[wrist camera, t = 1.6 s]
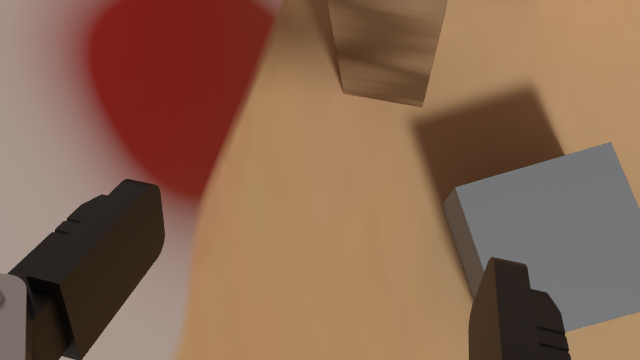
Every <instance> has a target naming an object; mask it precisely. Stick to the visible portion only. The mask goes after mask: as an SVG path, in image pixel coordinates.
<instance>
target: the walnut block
mask: <svg viewBox="0 0 640 360" xmlns="http://www.w3.org/2000/svg"><path fill="white" fill-rule="evenodd" d="M327 2H328V8H329V13H330V19H331V25H332V30H333V36H334V42H335V47H336V53H337V59H338V64H339V70H340V76H341V81H342V87H343V93H344V94H349V95H354V96H360V97H366V98H372V99H377V100H383V101H389V102H395V103H400V104H406V105H412V106H418V107H422V106H423V102H424V98H425V94H426V90H427V86H428V82H429V77H430V73H431V69H432V65H433V61H434V57H435V53H436V49H437V44H438V40H439V36H440V32H441V28H442V24H443V20H444V15H445V11H446V6H447V0H327Z"/></svg>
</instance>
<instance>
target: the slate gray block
mask: <svg viewBox="0 0 640 360" xmlns="http://www.w3.org/2000/svg"><path fill="white" fill-rule="evenodd" d="M442 206H443V209H444V212H445V215H446V218H447V221H448V224H449V227H450V230H451V233H452V236H453V239H454V242H455V245H456V248H457V251H458V254H459V257H460V260H461V263H462V266H463V269H464V272H465V275H466V278H467V280H468V283H469V286H470V289H471V292H472V295H473V298H474V299H475V297H476V294H477V291H478V288H479V285H480V283H481V280H482V277H483V274H484V271H485V269H486V266H487V263H488V261H489V259H490V258H491V257H495V258H500V259H505V260H509V261H514V262H519V263H524V264H526V265H527V268H528V274H529V280H530V287H531V289H534V290H539V291H543V292H547V293H548V294H549V296H550V297H551V299H552V300H553V302H554V303H555V304H556V306H557V307H558V309H559V310H560V312H561V315H562V320H563V325H564V329H565V332H567V331H571V330H575V329H578V328H582V327H586V326H589V325H593V324H597V323H600V322H604V321H608V320H611V319H615V318H618V317H622V316H626V315H629V314H633V313H637V312H640V209H639V207H638V204H637V202H636V200H635V197H634V195H633V193H632V190H631V188H630V186H629V183H628V181H627V179H626V176H625V174H624V172H623V169H622V167H621V165H620V162H619V160H618V158H617V155H616V153H615V151H614V148H613V146H612V144H611V142H609V143H606V144H603V145H599V146H596V147H592V148H589V149H585V150H582V151H578V152H575V153H572V154H568V155H565V156H561V157H558V158H554V159H551V160H547V161H544V162H541V163H537V164H534V165H530V166H527V167H523V168H520V169H516V170H513V171H510V172H506V173H503V174H499V175H496V176H492V177H489V178H485V179H482V180H479V181H475V182H472V183H468V184H465V185H461V186H458V187H455V188H454V189H453V191H452V192H451V193H450V195H449V196H448V197H447V199H446V200H445V201H444V203H443V204H442Z"/></svg>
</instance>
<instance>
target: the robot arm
mask: <svg viewBox="0 0 640 360" xmlns="http://www.w3.org/2000/svg"><path fill="white" fill-rule="evenodd" d="M164 238H165V230H164V221H163V212H162V203H161V194H160V189H159V187H158V186H157V185H154V184H150V183H145V182H140V181H135V180H131V179H126V180H124V181H122V182H121V183H120V184H119V185H118V186H117V187H116V188H115V189H114V190H113V191H112V192H111V193H110V194H109V195H108V196H107V195H100V196H98V197H96V198H94V199H92V200H90V201H88V202H86V203H84V204H82V205H81V206H79V207H78V208H77V209H76V210H75V211H74V212H73V213H72V214H71V215H70V216H69V217H68V218H67V221H63V222H62V223H61V224H60V225H59V226H58V227H57V228H56V229H55V232H54V233H53V232H52V233H51V234H49V236H47V237H46V238H45V239H44V240H43V241H42V242H41V243H40V244H39V245H38V246H37V247H36V248H35V249H34V250H32V251H31V252H30V253H29V254H28V255H27V256H26V257H25V258H24V259H23V260H22V261H21V262H20V263H18V264H17V266H15V267H14V268H13V269H12V270H11V271H10V272H9V273H8V274H0V360H59V359H60V357H61V356H64V357H68V358H71V359H75V360H82V359H83V357H84V356H85V355H86V353H87V352H88V351H89V349H90V348H91V347H92V345H93V344H94V343H95V341H96V340H97V339H98V337H99V336H100V335H101V333H102V332H103V331H104V329H105V328H106V327H107V325H108V324H109V322H110V321H111V320H112V319H113V317H114V316H115V314H116V313H117V312H118V310H119V309H120V308H121V306H122V305H123V304H124V302H125V301H126V300H127V298H128V297H129V296H130V294H131V293H132V292H133V290H134V289H135V288H136V286H137V285H138V284H139V282H140V281H141V279H142V278H143V277H144V276H145V274H146V273H147V271H148V270H149V269H150V267H151V266H152V265H153V263H154V262H155V261H156V259H157V258H158V256H159V255H160V252H161V250H162V248H163V244H164ZM568 351H569V348H568V343H567V338H566V337H565V329H564V325H563V320H562V315H561V312H560V310H559V309H558V307H557V306H556V304H555V303H554V302H553V300H552V299H551V297H550V296H549V294H548V293H547V292H543V291H539V290H534V289H531V287H530V280H529V274H528V268H527V265H526V264H524V263H519V262H514V261H509V260H505V259H500V258H495V257H491V258H490V259H489V261H488V263H487V266H486V269H485V271H484V274H483V277H482V280H481V283H480V285H479V288H478V291H477V294H476V297H475V299H474V302H473V305H472V309H471V314H470V320H469V360H571V357H570V354H568Z"/></svg>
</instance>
